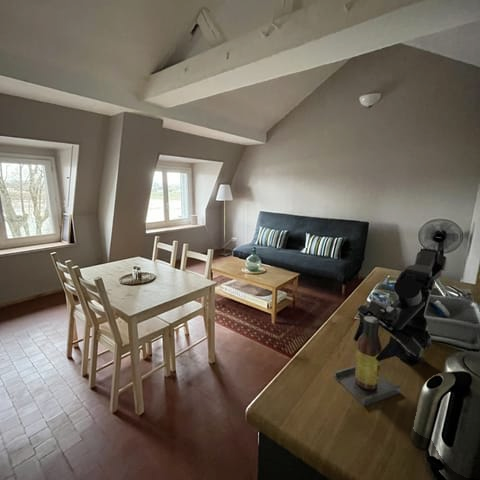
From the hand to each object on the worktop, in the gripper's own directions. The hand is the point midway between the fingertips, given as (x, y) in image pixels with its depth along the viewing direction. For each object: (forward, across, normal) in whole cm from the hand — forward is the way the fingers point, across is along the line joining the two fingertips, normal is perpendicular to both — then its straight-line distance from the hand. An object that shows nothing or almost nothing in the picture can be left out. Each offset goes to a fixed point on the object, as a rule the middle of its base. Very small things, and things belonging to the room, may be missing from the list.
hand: (365, 349), depth 74 cm
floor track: (+7, 0, +9) cm, 12 cm away
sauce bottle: (+7, 0, +9) cm, 11 cm away
